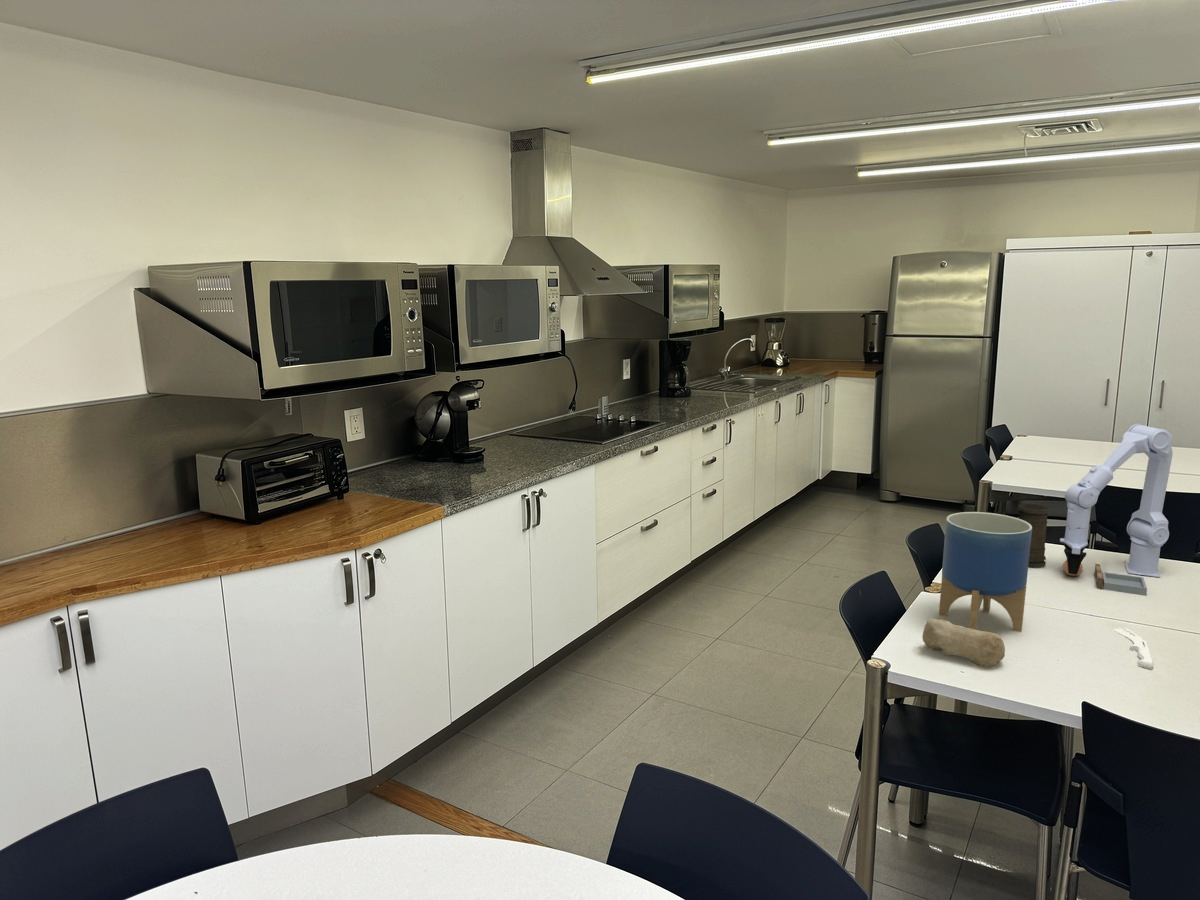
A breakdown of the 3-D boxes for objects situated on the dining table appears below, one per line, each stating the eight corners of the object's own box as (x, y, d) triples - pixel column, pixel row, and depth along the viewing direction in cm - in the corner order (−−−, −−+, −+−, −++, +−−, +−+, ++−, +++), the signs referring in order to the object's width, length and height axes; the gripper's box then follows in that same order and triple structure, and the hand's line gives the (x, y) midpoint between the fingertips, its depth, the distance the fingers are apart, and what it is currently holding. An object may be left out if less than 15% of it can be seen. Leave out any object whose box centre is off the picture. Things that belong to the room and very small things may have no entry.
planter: (948, 602, 220) (955, 507, 215) (1027, 618, 209) (1037, 519, 204) (930, 626, 204) (937, 525, 199) (1014, 645, 193) (1025, 538, 188)
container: (1050, 568, 246) (1056, 510, 242) (1020, 568, 246) (1026, 510, 243) (1035, 558, 255) (1041, 502, 251) (1006, 558, 255) (1011, 502, 251)
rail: (1094, 573, 241) (1095, 563, 241) (1099, 573, 241) (1100, 564, 240) (1096, 588, 229) (1098, 578, 229) (1101, 589, 229) (1103, 579, 228)
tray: (1101, 578, 237) (1102, 571, 237) (1142, 584, 233) (1143, 577, 232) (1103, 589, 229) (1104, 582, 228) (1146, 595, 224) (1147, 588, 224)
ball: (1062, 571, 243) (1063, 555, 242) (1081, 574, 241) (1083, 557, 240) (1062, 576, 239) (1064, 560, 238) (1082, 579, 236) (1083, 562, 236)
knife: (1105, 615, 210) (1141, 620, 206) (1104, 621, 210) (1140, 626, 206) (1113, 657, 184) (1154, 663, 180) (1112, 663, 184) (1154, 670, 180)
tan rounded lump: (932, 626, 197) (925, 605, 191) (1010, 643, 187) (1005, 621, 180) (923, 658, 193) (915, 638, 187) (1002, 677, 183) (997, 657, 176)
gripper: (1061, 518, 245) (1056, 561, 248) (1062, 530, 232) (1057, 576, 235) (1088, 521, 242) (1083, 565, 244) (1090, 534, 229) (1085, 580, 232)
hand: (1072, 570), depth 240 cm, fingers closed on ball, 5 cm apart
